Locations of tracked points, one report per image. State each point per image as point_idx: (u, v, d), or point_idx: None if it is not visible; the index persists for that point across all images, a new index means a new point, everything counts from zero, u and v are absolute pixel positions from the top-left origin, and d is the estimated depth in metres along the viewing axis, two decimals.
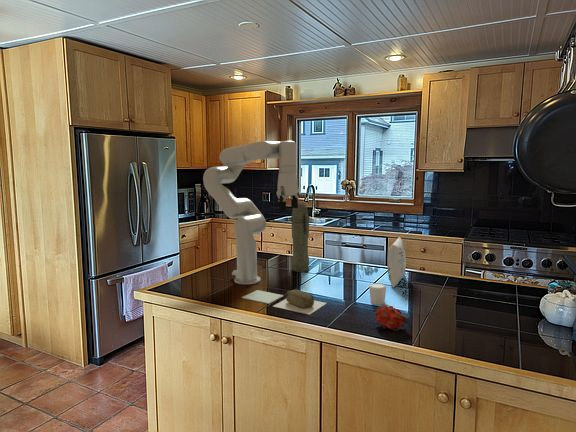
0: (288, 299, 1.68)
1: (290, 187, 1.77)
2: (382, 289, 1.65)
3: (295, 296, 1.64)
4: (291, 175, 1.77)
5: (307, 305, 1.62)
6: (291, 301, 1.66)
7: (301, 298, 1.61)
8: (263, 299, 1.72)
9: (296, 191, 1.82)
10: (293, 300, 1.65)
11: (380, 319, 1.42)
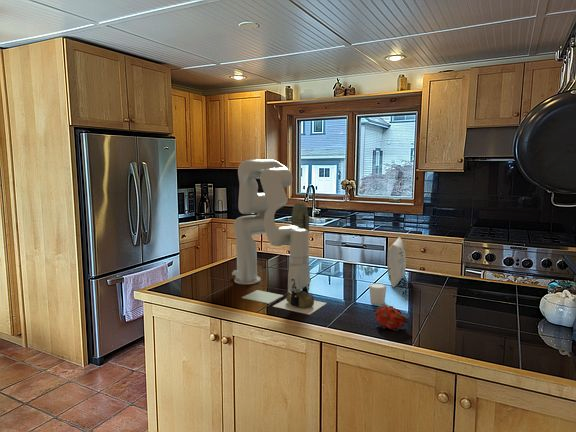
0: (288, 299, 1.68)
1: (302, 280, 1.62)
2: (382, 289, 1.65)
3: None
4: (303, 267, 1.62)
5: (307, 305, 1.62)
6: None
7: (301, 298, 1.61)
8: (263, 299, 1.72)
9: (308, 281, 1.67)
10: None
11: (380, 319, 1.42)
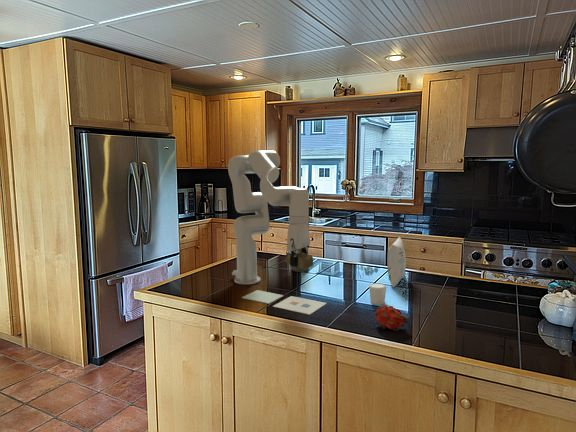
0: (287, 260, 1.66)
1: (301, 239, 1.60)
2: (382, 289, 1.65)
3: None
4: (302, 226, 1.60)
5: (306, 265, 1.60)
6: None
7: (300, 258, 1.59)
8: (263, 299, 1.72)
9: (307, 242, 1.65)
10: None
11: (380, 319, 1.42)
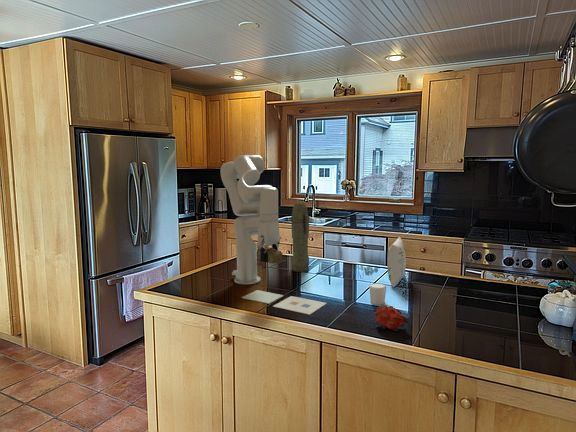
0: (258, 256, 1.73)
1: (271, 236, 1.68)
2: (382, 289, 1.65)
3: None
4: (272, 224, 1.68)
5: (276, 261, 1.68)
6: None
7: (270, 254, 1.67)
8: (263, 299, 1.72)
9: (277, 239, 1.73)
10: None
11: (380, 319, 1.42)
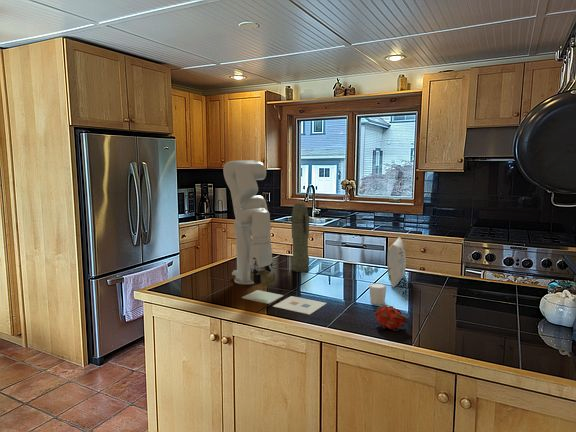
0: (251, 278, 1.76)
1: (263, 258, 1.71)
2: (382, 289, 1.65)
3: None
4: (264, 246, 1.71)
5: (268, 282, 1.71)
6: None
7: (262, 276, 1.70)
8: (263, 299, 1.72)
9: (270, 261, 1.76)
10: None
11: (380, 319, 1.42)
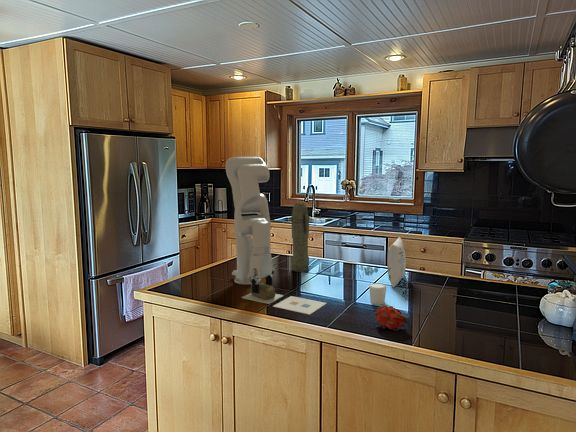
0: (251, 291, 1.77)
1: (263, 269, 1.72)
2: (382, 289, 1.65)
3: None
4: (264, 257, 1.72)
5: (269, 296, 1.72)
6: (254, 293, 1.76)
7: (263, 290, 1.71)
8: (263, 299, 1.72)
9: (270, 271, 1.77)
10: None
11: (380, 319, 1.42)
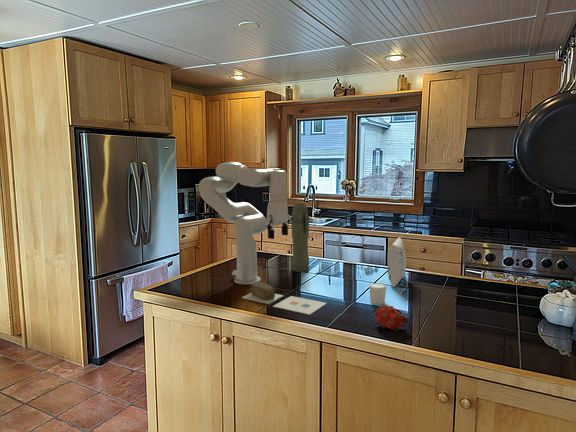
0: (252, 291, 1.78)
1: (279, 216, 1.80)
2: (382, 289, 1.65)
3: (257, 288, 1.74)
4: (280, 204, 1.79)
5: (268, 297, 1.72)
6: (254, 293, 1.76)
7: (262, 290, 1.71)
8: (263, 299, 1.72)
9: (286, 219, 1.84)
10: (256, 292, 1.75)
11: (380, 319, 1.42)
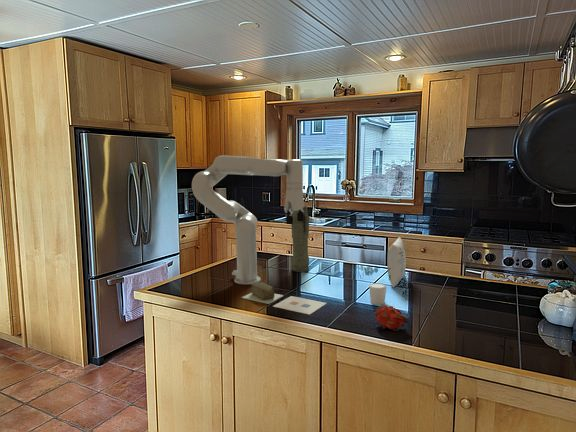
0: (252, 291, 1.78)
1: (296, 202, 1.91)
2: (382, 289, 1.65)
3: (257, 288, 1.74)
4: (297, 191, 1.91)
5: (267, 297, 1.71)
6: (254, 293, 1.77)
7: (261, 290, 1.71)
8: (263, 299, 1.72)
9: (302, 206, 1.96)
10: (256, 292, 1.75)
11: (380, 319, 1.42)
